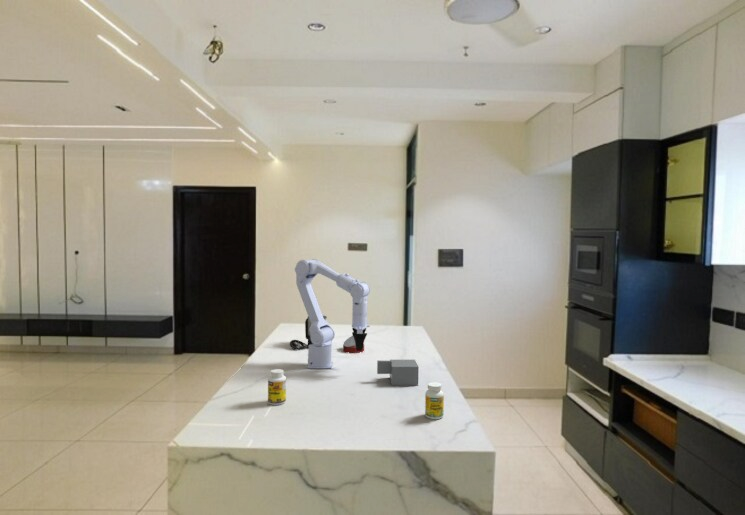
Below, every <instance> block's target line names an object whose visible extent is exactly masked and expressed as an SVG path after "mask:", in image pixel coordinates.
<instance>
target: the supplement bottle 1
mask: <svg viewBox="0 0 745 515" xmlns="http://www.w3.org/2000/svg"><path fill="white" fill-rule="evenodd" d="M286 401H287V377H286V376H285V375H284V369H280V368H274V369H271V370H270V376H269V377H268V378H267V402H268V404H269V405H271V406H279V405H283V404H285V403H286Z"/></svg>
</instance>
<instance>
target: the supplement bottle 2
mask: <svg viewBox="0 0 745 515" xmlns="http://www.w3.org/2000/svg"><path fill="white" fill-rule="evenodd" d="M424 395H425V396H424V397H425V401H424V402H425V403H424V404H425V406H424V407H425V411H424V412H425V414H424V415H425V417H427V419H430V420H440V418H441V419H443V418H444V399H445V398H444V396H445V395H444V392H443V391H442V383H441V382H435V381H434V382H428V383H427V390H426V391H425V394H424Z"/></svg>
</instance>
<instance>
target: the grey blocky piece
mask: <svg viewBox="0 0 745 515" xmlns="http://www.w3.org/2000/svg"><path fill="white" fill-rule="evenodd" d="M376 361H377V362H376V364H377V366H376V368H377V370H376V372H377V373H376V374H377V375H389V379H390V384H391V386H392V387H395V386H399V387H409V386H410V387H412V386H419V364H418V363H417V360H416V359H389V360H376Z"/></svg>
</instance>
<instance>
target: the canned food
mask: <svg viewBox="0 0 745 515" xmlns="http://www.w3.org/2000/svg"><path fill="white" fill-rule="evenodd" d="M342 345H343V346H342V350H343V352H344V351H345V352H344V353H346V352H349V353H348V354H360V352H361V353H364V352H365V343H364V344H363V349H362V351H357V350H356V344H355V339H354V337H353V335H351V336H350V337H348V338H347V339H345V341H344V342H343V344H342ZM363 351H364V352H363Z"/></svg>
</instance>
